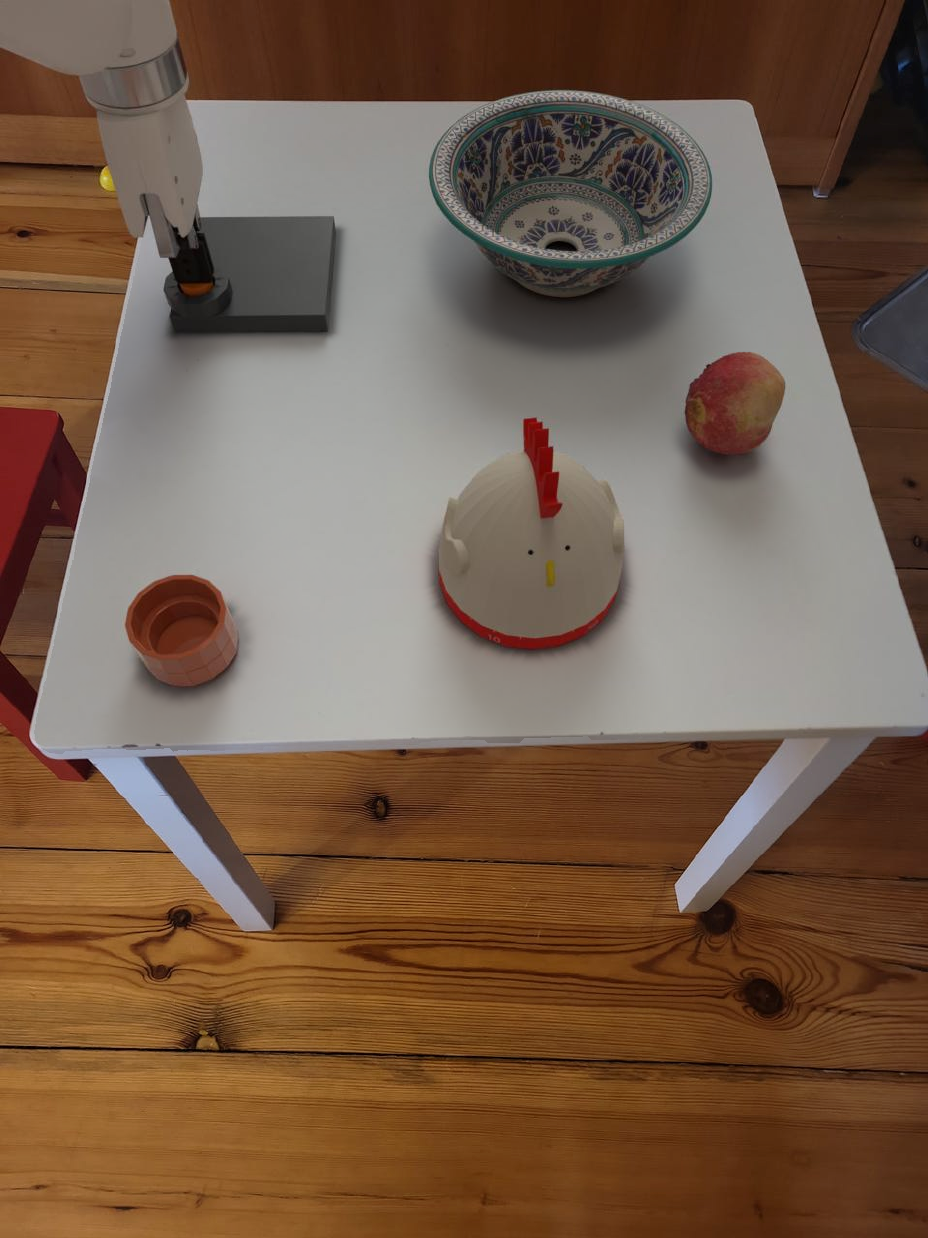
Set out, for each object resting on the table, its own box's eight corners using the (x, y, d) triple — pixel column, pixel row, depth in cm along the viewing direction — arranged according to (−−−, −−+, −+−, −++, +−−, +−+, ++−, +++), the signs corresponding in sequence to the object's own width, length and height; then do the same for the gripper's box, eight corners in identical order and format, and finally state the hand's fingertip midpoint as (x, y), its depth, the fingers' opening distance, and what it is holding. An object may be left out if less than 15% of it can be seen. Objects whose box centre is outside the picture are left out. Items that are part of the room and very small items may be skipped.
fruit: (730, 490, 74) (758, 422, 67) (656, 440, 77) (675, 370, 70) (785, 438, 77) (817, 368, 70) (711, 391, 80) (735, 319, 73)
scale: (170, 335, 83) (159, 304, 80) (191, 233, 90) (182, 201, 87) (327, 334, 83) (322, 303, 80) (336, 232, 90) (331, 200, 87)
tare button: (182, 305, 82) (176, 289, 80) (186, 284, 83) (181, 267, 82) (213, 304, 82) (208, 288, 80) (217, 283, 83) (212, 267, 82)
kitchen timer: (452, 660, 66) (450, 540, 53) (427, 510, 73) (420, 371, 60) (638, 635, 67) (680, 512, 54) (596, 490, 74) (625, 349, 61)
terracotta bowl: (138, 690, 65) (117, 660, 61) (153, 608, 68) (134, 575, 64) (234, 688, 65) (219, 658, 61) (243, 607, 68) (230, 573, 64)
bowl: (692, 193, 94) (714, 101, 86) (685, 366, 81) (711, 277, 73) (453, 170, 96) (452, 77, 87) (410, 335, 83) (405, 245, 75)
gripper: (98, 11, 69) (166, 223, 85) (57, 128, 61) (140, 337, 77) (197, 10, 69) (246, 223, 85) (168, 127, 62) (228, 336, 77)
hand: (195, 277), depth 81 cm, fingers closed
